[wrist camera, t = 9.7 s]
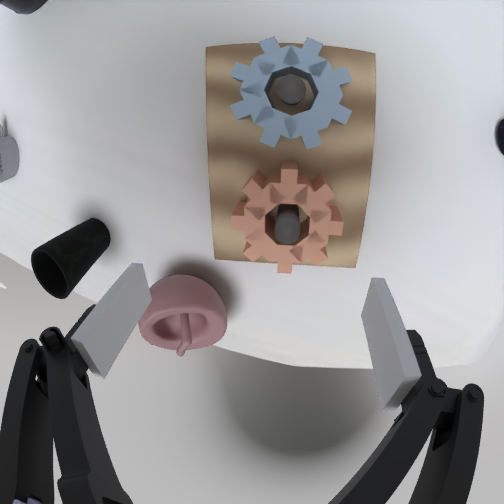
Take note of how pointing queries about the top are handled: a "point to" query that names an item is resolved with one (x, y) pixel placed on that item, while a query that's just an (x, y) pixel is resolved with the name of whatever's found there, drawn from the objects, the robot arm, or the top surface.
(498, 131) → the beverage can
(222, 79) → the gear board
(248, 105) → the seated gear
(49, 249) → the cup
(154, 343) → the mortar and pestle
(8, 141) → the mug
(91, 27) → the top surface
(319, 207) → the loose gear
